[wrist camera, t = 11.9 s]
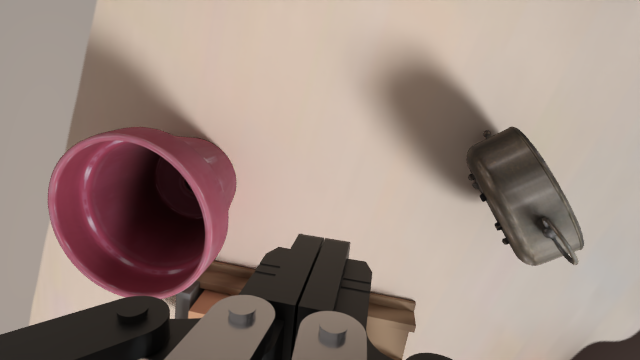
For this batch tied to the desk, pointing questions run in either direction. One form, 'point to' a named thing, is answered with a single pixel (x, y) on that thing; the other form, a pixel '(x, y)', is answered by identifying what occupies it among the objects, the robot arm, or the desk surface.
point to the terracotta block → (206, 303)
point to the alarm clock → (524, 198)
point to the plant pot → (141, 209)
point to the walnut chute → (382, 322)
